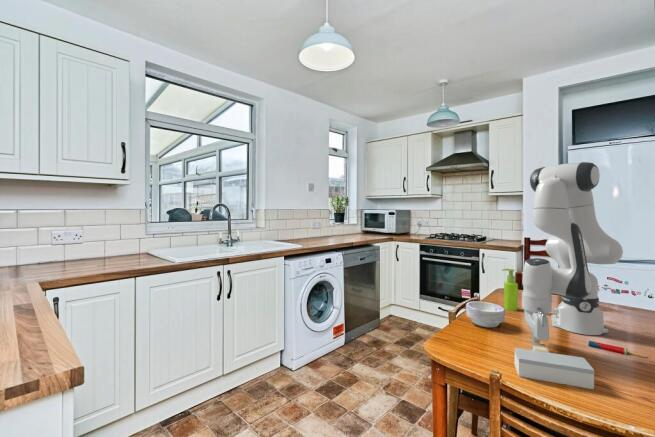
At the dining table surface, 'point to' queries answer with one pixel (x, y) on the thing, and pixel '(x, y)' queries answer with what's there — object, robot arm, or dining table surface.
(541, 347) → the slat
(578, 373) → the end cap
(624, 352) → the popsicle
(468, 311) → the paper bowls
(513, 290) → the soap dispenser
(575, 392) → the dining table surface
